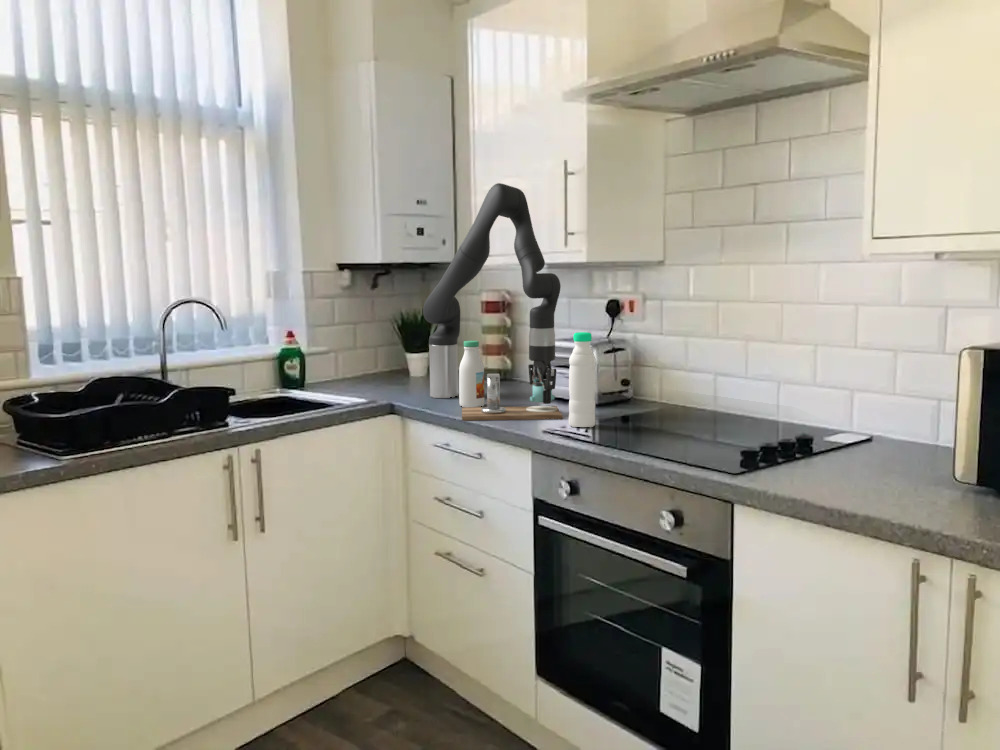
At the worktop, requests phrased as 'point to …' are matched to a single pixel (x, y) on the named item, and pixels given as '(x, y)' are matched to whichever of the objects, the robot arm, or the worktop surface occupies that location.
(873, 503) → the worktop surface
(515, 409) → the board
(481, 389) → the milk bottle
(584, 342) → the white bottle
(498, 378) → the post
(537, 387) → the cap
